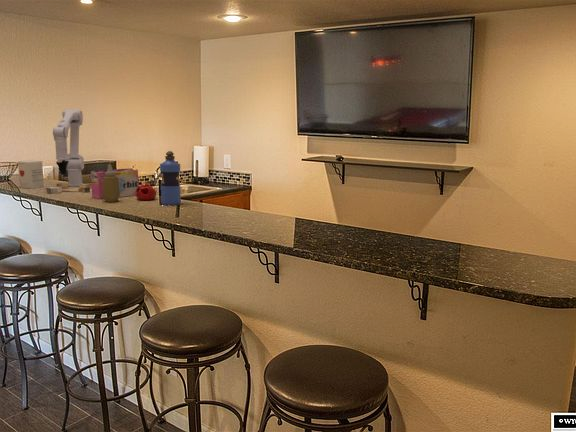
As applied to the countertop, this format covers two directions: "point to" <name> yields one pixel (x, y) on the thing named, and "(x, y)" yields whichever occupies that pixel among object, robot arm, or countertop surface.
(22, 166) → the supplement box
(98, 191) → the gum box
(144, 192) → the pomegranate
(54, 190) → the stop bracket
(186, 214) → the countertop surface
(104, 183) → the squeeze bottle
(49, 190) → the folding leg
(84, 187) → the stool seat
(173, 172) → the water bottle
